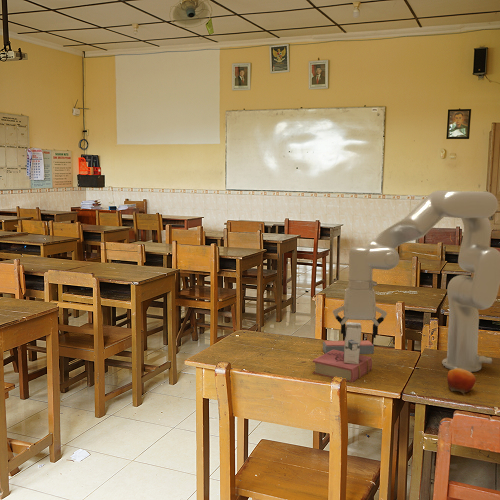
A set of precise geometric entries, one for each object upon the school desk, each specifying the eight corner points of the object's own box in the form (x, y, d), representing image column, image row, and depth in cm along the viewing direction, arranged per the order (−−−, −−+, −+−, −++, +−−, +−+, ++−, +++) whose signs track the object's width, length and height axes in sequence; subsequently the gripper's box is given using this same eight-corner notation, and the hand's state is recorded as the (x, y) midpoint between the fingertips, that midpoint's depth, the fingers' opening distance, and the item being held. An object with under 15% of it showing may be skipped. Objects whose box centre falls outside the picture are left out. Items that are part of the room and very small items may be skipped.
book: (354, 384, 170) (354, 369, 169) (312, 374, 179) (312, 360, 178) (373, 372, 181) (373, 357, 181) (332, 363, 191) (333, 349, 190)
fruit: (442, 389, 161) (446, 363, 163) (447, 395, 167) (451, 370, 170) (470, 395, 156) (474, 368, 159) (474, 400, 162) (478, 375, 165)
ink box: (343, 355, 183) (345, 321, 182) (358, 356, 182) (360, 322, 181) (343, 363, 175) (345, 328, 173) (359, 364, 174) (361, 329, 172)
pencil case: (369, 348, 206) (369, 340, 205) (373, 353, 200) (374, 344, 199) (322, 349, 205) (322, 340, 204) (325, 354, 199) (325, 345, 198)
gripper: (386, 283, 176) (384, 334, 178) (332, 282, 178) (332, 332, 181) (389, 287, 169) (387, 340, 171) (333, 286, 171) (332, 338, 173)
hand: (359, 336), depth 176 cm, fingers open, 9 cm apart
